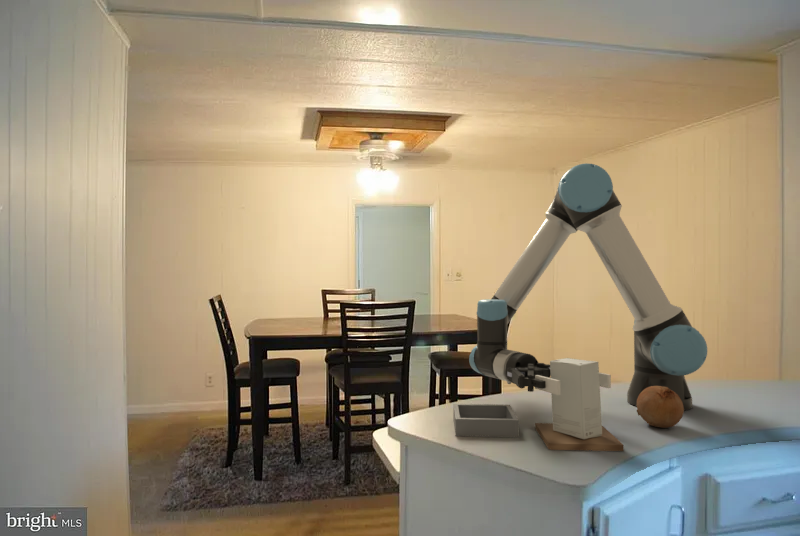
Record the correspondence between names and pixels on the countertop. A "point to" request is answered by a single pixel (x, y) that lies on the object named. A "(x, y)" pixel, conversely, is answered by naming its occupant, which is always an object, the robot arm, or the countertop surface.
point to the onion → (660, 406)
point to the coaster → (577, 440)
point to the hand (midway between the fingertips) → (585, 384)
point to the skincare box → (576, 398)
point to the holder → (485, 420)
